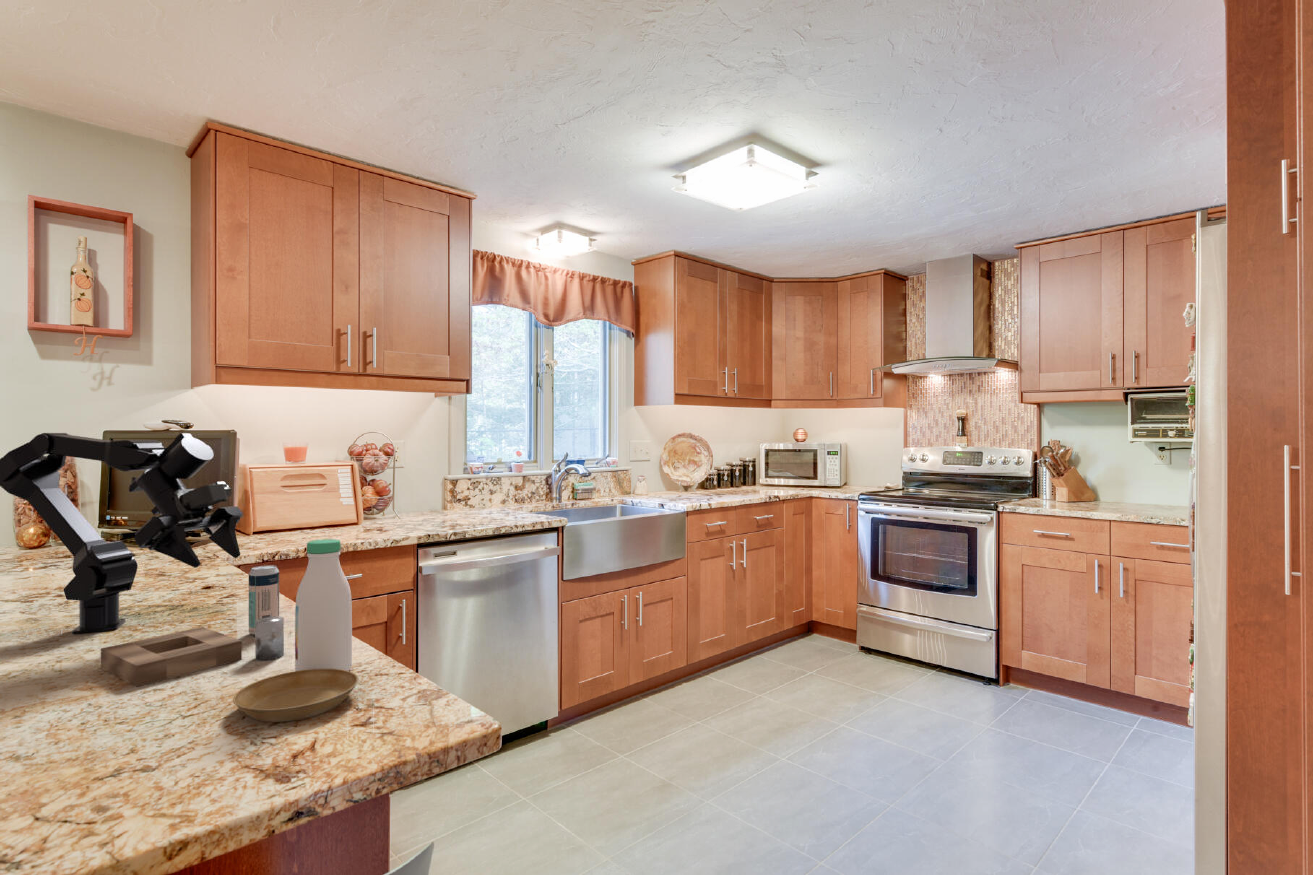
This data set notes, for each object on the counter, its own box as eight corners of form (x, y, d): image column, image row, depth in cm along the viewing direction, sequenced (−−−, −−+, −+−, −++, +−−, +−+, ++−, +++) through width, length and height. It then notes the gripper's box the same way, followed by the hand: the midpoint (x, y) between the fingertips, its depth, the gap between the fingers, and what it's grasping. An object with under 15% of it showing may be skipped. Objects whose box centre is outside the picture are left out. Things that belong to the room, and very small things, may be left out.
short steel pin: (256, 654, 108) (256, 618, 108) (284, 651, 110) (284, 615, 110) (254, 662, 105) (254, 624, 105) (283, 658, 107) (282, 621, 107)
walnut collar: (100, 667, 102) (100, 648, 102) (202, 644, 114) (202, 626, 114) (136, 686, 95) (136, 665, 95) (241, 659, 106) (241, 640, 106)
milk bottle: (363, 666, 103) (363, 538, 103) (323, 684, 95) (323, 546, 95) (324, 661, 105) (324, 536, 105) (282, 677, 98) (282, 543, 98)
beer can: (285, 629, 123) (284, 565, 123) (267, 637, 118) (267, 570, 118) (260, 628, 123) (260, 564, 123) (242, 636, 118) (242, 569, 118)
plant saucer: (211, 712, 86) (211, 692, 86) (322, 678, 98) (322, 660, 98) (267, 741, 78) (267, 719, 78) (380, 700, 90) (380, 681, 90)
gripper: (154, 469, 112) (207, 541, 110) (238, 465, 130) (285, 526, 129) (110, 511, 113) (162, 582, 112) (199, 501, 131) (245, 562, 130)
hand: (218, 561), depth 120 cm, fingers open, 9 cm apart
